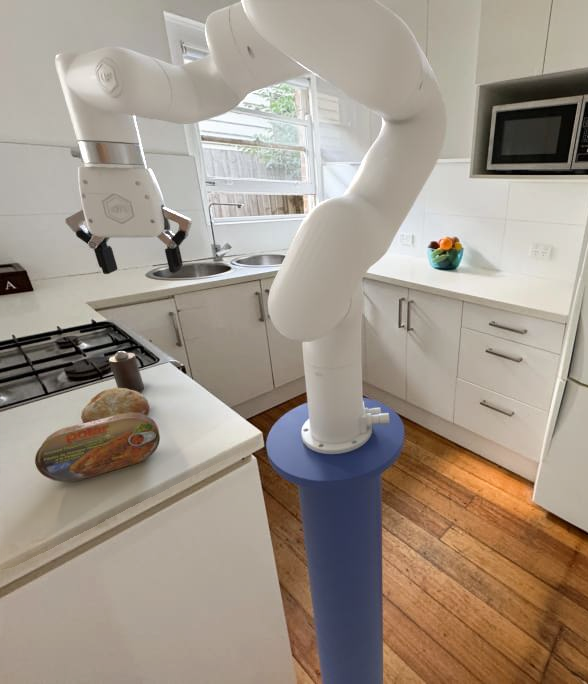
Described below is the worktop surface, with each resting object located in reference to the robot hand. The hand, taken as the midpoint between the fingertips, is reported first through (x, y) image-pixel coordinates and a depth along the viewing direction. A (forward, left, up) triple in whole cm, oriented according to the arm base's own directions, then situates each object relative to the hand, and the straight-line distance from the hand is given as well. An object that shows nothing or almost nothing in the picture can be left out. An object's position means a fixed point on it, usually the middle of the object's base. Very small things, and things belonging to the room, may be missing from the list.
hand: (143, 271), depth 63 cm
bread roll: (+11, 0, -28) cm, 31 cm away
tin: (+6, +14, -28) cm, 32 cm away
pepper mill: (+13, -11, -28) cm, 33 cm away
